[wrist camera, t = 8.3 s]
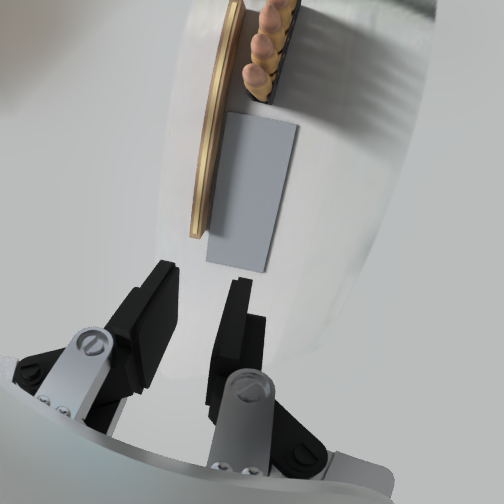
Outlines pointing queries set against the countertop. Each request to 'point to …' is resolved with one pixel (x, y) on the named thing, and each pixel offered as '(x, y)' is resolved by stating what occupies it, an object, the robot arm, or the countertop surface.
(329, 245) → the countertop surface
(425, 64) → the countertop surface
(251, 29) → the countertop surface
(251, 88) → the ammunition clip
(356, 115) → the countertop surface
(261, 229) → the flat gray rectangular panel
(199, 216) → the straightedge
